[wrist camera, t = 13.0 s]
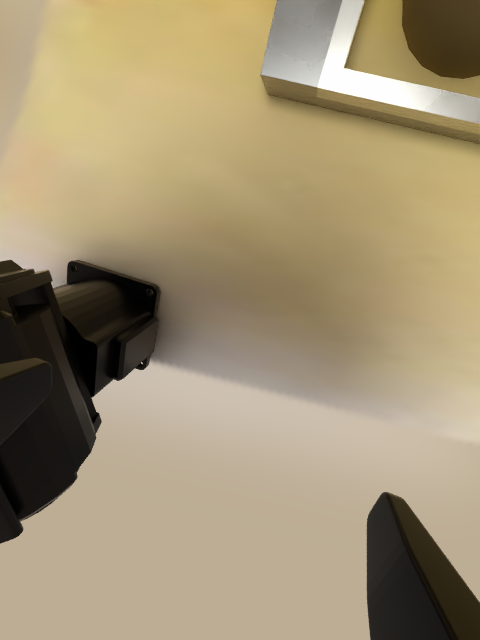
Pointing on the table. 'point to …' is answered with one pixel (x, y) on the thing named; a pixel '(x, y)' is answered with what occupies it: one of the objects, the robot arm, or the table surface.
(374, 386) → the table surface
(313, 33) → the silver metal frame
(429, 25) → the cork
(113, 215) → the table surface
